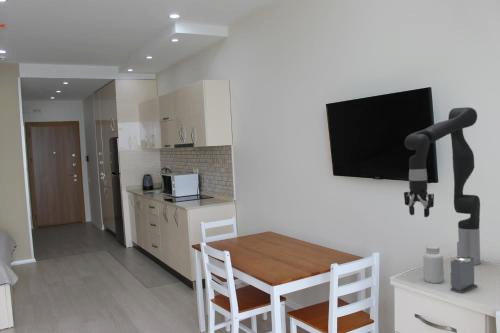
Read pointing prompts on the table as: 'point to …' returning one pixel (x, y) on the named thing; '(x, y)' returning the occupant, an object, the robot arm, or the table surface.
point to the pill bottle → (433, 265)
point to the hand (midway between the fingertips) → (419, 215)
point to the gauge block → (462, 274)
